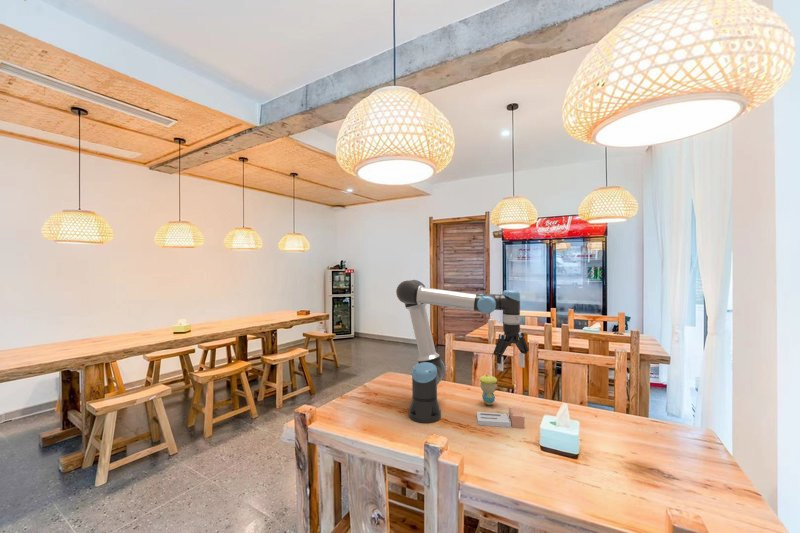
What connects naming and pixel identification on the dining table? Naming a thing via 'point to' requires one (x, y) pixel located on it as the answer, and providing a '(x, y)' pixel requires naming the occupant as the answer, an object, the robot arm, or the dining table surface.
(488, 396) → the toy
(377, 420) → the dining table surface
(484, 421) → the grey slotted block
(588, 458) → the dining table surface
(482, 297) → the robot arm
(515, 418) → the stub
